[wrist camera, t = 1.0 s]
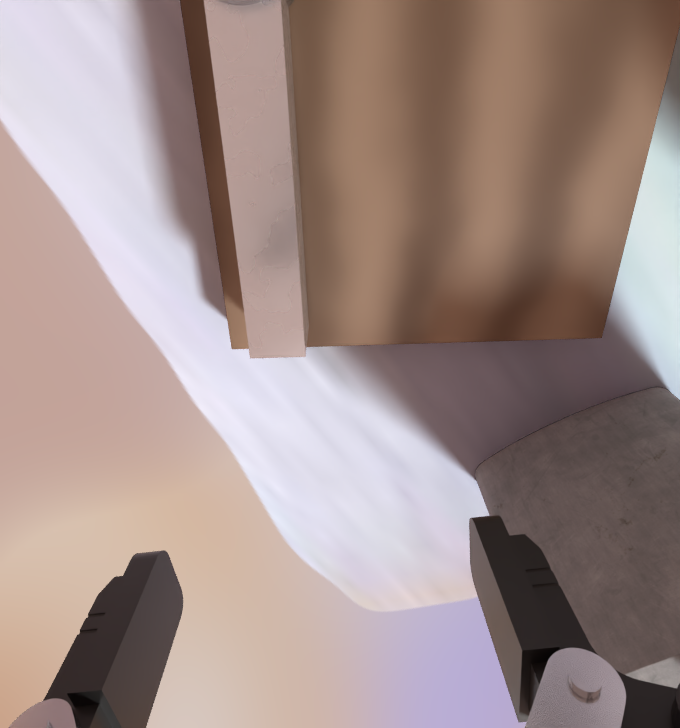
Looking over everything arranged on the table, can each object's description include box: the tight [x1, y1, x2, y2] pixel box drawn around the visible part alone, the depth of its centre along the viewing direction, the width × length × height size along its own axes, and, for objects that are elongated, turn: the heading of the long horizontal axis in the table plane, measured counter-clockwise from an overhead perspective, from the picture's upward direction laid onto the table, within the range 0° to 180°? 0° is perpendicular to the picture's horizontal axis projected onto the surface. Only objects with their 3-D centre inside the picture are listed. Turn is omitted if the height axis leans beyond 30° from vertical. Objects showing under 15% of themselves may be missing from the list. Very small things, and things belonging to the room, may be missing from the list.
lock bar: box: [204, 0, 309, 358], centre depth 23 cm, size 20×5×5 cm, turn 2°
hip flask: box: [475, 387, 680, 688], centre depth 29 cm, size 16×4×20 cm, turn 121°
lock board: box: [180, 0, 680, 349], centre depth 24 cm, size 24×25×7 cm
